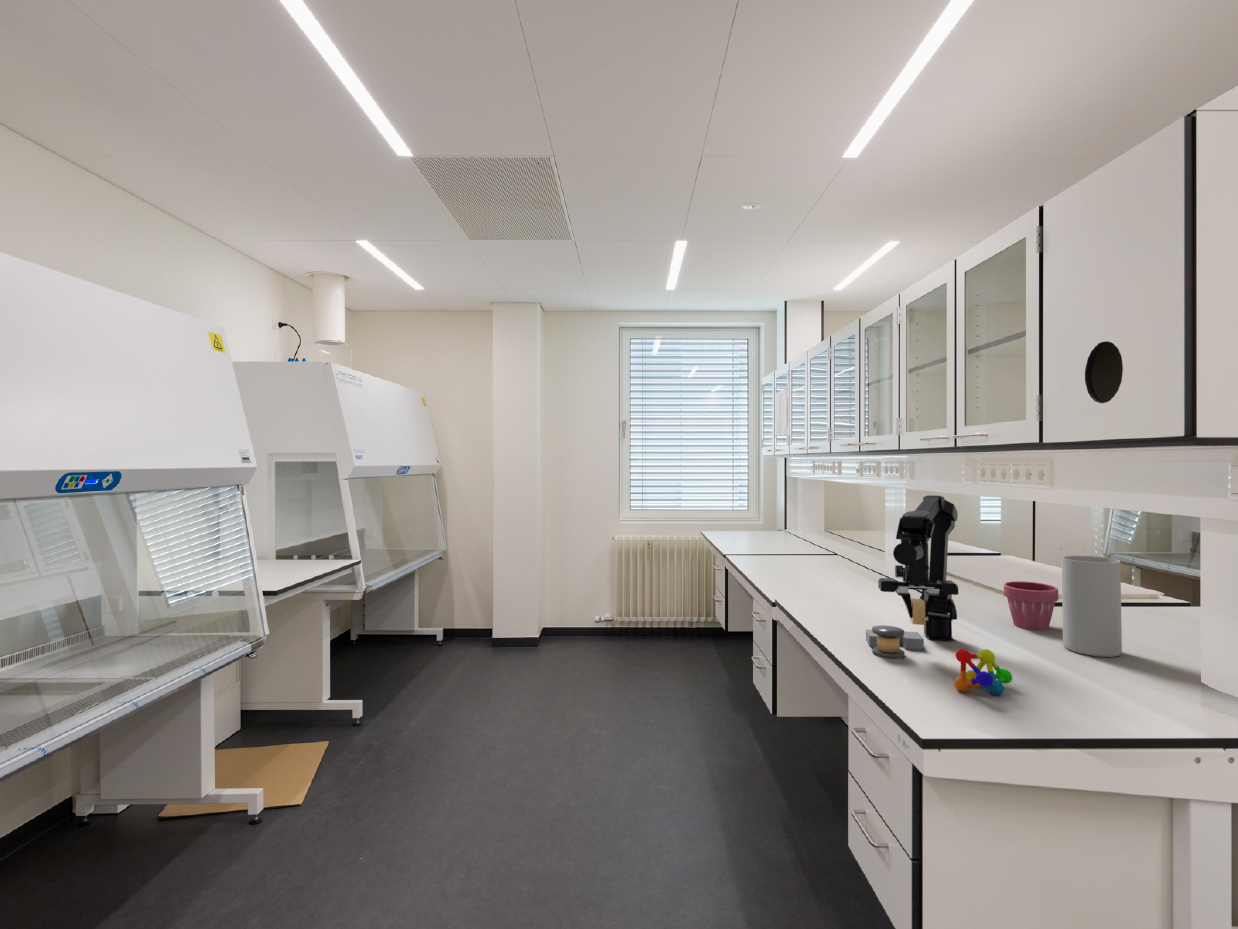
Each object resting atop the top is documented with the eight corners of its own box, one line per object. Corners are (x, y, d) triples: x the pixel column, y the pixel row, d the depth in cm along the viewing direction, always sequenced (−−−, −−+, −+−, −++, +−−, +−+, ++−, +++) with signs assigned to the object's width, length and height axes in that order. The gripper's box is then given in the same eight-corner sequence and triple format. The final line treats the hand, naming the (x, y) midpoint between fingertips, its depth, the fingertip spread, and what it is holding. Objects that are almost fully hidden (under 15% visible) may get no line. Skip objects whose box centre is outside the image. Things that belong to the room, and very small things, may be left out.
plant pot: (1044, 635, 175) (1043, 592, 175) (994, 624, 187) (994, 584, 187) (1068, 628, 182) (1067, 586, 182) (1019, 618, 194) (1018, 579, 194)
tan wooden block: (922, 621, 160) (921, 599, 160) (925, 624, 156) (925, 602, 156) (910, 620, 161) (909, 598, 161) (913, 624, 157) (912, 601, 157)
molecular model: (1019, 715, 129) (984, 683, 124) (972, 709, 138) (937, 679, 133) (1023, 667, 135) (989, 635, 130) (978, 664, 143) (944, 634, 138)
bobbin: (901, 650, 163) (900, 626, 163) (907, 659, 155) (907, 634, 155) (870, 648, 165) (869, 624, 165) (874, 657, 157) (874, 632, 157)
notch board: (917, 642, 169) (917, 632, 169) (923, 650, 163) (923, 639, 163) (865, 639, 173) (865, 629, 173) (869, 646, 166) (869, 636, 166)
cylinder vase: (1134, 656, 155) (1132, 561, 155) (1096, 660, 153) (1094, 563, 153) (1087, 642, 167) (1086, 554, 167) (1051, 645, 165) (1050, 556, 165)
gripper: (947, 556, 164) (948, 612, 163) (875, 554, 169) (876, 609, 169) (958, 563, 153) (959, 623, 153) (880, 561, 158) (881, 618, 158)
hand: (917, 618), depth 158 cm, fingers closed on tan wooden block, 3 cm apart
